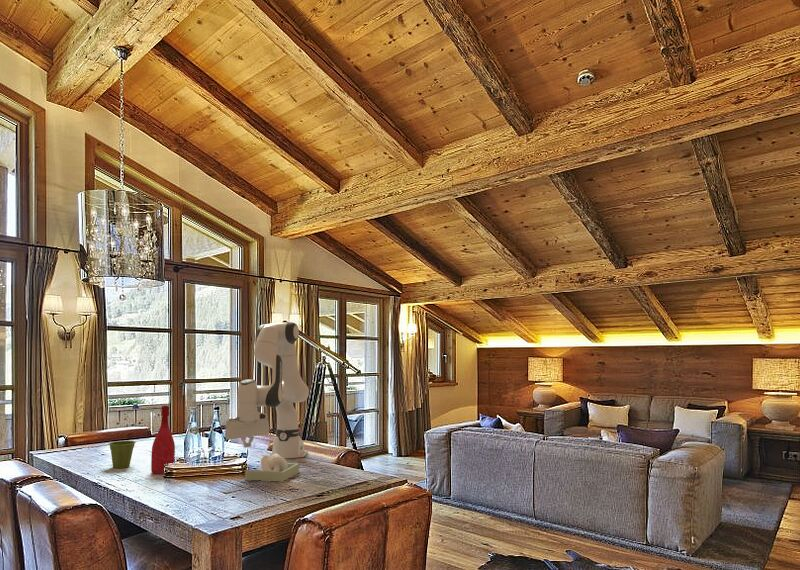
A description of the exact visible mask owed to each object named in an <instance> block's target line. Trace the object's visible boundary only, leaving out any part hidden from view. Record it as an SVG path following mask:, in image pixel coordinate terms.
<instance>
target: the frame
mask: <svg viewBox="0 0 800 570" xmlns="http://www.w3.org/2000/svg"><path fill="white" fill-rule="evenodd" d="M280 467H281V465H280ZM298 472H300V463H298V462H296V463H294V462H287V469H286V470H284V471H282V472H273V471H263V470H252V469H251V470H250V469H249V470H247V469H245V472H244V480H245V481H251V480H261V481H260V482H270V481H280V482H279V483H284V482H285V481H287V480H289V479H290V478H292V477H294V476H295V475H297V474H299V473H298ZM296 473H297V474H296ZM294 474H295V475H294ZM293 475H294V476H293ZM291 476H292V477H291ZM289 477H290V478H289ZM288 478H289V479H288ZM286 479H287V480H286ZM284 480H285V481H284Z"/></svg>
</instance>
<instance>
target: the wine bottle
mask: <svg viewBox="0 0 800 570" xmlns="http://www.w3.org/2000/svg"><path fill="white" fill-rule="evenodd" d="M160 416H161V421H160V422H161V423H160V426H159V429H158V431H157V433H156V435H155V438H154V439H153V442H152V445H151V455H150V456H151V457H150V458H151V461H150V464H151V466H150V468H151V469H150V470H151V471H150V472H151V473H152V474H154V475H165V474H164V464H166V463H167V464H168V463H173V462H174V463H175V459H176V458H175V454H176V445H175V444H176V443H175V440H174V437H173V434H172V432H171V429H170V427H169V426H170V425H169V416H170V406H169V405H167V404H166V405H162V406H161V413H160Z"/></svg>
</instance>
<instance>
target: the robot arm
mask: <svg viewBox="0 0 800 570" xmlns="http://www.w3.org/2000/svg"><path fill="white" fill-rule="evenodd" d="M299 336H300V329H299V326H298V325H297V324H296V322H292V321H291V322H290V321H288V322H285V321H284V322H283V321H279V322H272V323H263V324H260V325H259V327H258V328H257V330H256V340H255V341H256V342H255V344H254V348H253V349H254V350H253V356H254V358H255V359H256V361H257V362H258V363H260V364H261V365H263V366H266V367H269V368H270V369H271V370H272V375H271V384H270V385H258V384H257V381H256V380H255V379H251V378H248V379H243V380H241V381H240V382H239V383H238V386H237V398H236V400H237V405H238V406H237V408H236V411H237V413H236V414H237V415H236V417H229V418H228V419H226V420H225V423H224V424H225V425H224V426H225V432H224V438H225V439H226V440H228V441H229V440H230V441H231V440H237V439H240V441H241V443H242V444H243V448H251V447H252V443H253V440H254V437H257V436H265V435H268V434H269V433H270V424H269V419H268V414H267V413H264V412H261V411H258V407H268V408H275V411H276V429H275V437H274V438H273V440H272V441H273V442H272V448H271V449H272V450H271V453H269V457H271V456H272V455H273V454H279V455H280V456H281V457H283V458H284V459H295V458H304V457H306V455H307V454H308V453H309V451H308V450H306V449H305V448H304V447H305V446H304V444H305V443H304V440H303V439H302V438H301V436H300V433H301V428H300V427H299V412H298V411H297V410H296V408H295V407H294V404H299V403H301V402H302V403H303V402H305V401H306V400H307V399H308V398H309V395H310V388H309V387H308V385H307V384H306V383H305V382H304V380H303V379H302V377H301V374H300V370H299V367H298V357H297V356H298V353H297V347H296V341H298V338H299ZM247 438H248V439H249V440H248V442H247V441H246V440H247Z"/></svg>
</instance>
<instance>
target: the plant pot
mask: <svg viewBox="0 0 800 570" xmlns="http://www.w3.org/2000/svg"><path fill="white" fill-rule="evenodd" d="M136 443H137V442H136V441H135V440H118V441H117V440H116V441H113V442H112V441H111V442H109V443H108V445H109V448H110V449H109V450H110V455H111V461H112V462H111V463H112V468H115V469H124V468H128V467H130V465H131V461H132V455H133V451H134V448H135V445H136Z"/></svg>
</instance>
